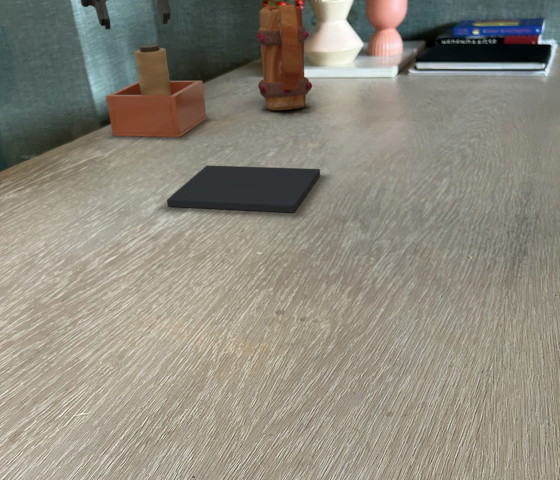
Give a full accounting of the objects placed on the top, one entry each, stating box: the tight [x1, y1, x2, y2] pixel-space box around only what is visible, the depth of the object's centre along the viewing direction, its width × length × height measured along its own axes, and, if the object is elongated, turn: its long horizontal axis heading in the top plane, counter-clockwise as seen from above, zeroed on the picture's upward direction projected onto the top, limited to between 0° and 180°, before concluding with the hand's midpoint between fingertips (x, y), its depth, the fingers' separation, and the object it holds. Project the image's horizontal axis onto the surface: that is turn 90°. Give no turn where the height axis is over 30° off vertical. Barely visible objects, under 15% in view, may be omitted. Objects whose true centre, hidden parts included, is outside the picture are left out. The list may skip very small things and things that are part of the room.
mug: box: [255, 4, 313, 111], centre depth 100 cm, size 15×8×15 cm, turn 6°
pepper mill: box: [133, 43, 172, 95], centre depth 97 cm, size 4×4×11 cm
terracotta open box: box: [105, 80, 207, 138], centre depth 99 cm, size 11×11×6 cm
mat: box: [166, 165, 321, 214], centre depth 74 cm, size 14×12×1 cm
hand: (137, 22), depth 99 cm, fingers open, 8 cm apart
